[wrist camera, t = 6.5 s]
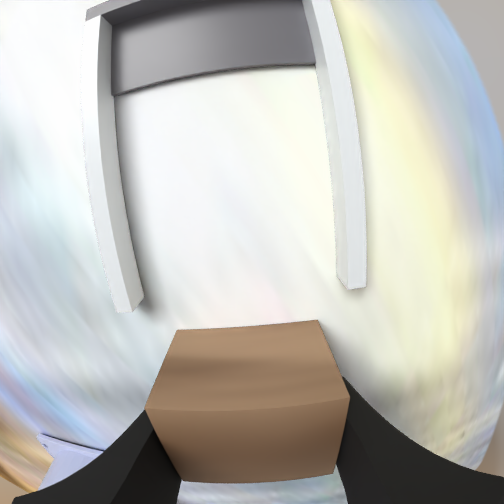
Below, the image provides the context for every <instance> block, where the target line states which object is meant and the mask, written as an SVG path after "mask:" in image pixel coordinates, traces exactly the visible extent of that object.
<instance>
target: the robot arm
mask: <svg viewBox="0 0 504 504" xmlns="http://www.w3.org/2000/svg"><path fill="white" fill-rule="evenodd" d="M342 379H343V381H344V384H345V386H346V388H347V391H348V393H349V396H350V401H349V406H348V411H347V417H346V422H345V426H344V431H343V436H342V440H341V444H340V449H339V453H338V457H337V461H336V465H337V468H338V471H339V474H340V477H341V480H342V483H343V486H344V489H345V493H346V496H347V501H348V504H504V477H501V476H496V475H491V474H486V473H482V472H478V471H475V470H472V469H469V468H466V467H463V466H460V465H458V464H456V463H453V462H451V461H449V460H447V459H445V458H442V457H440V456H438V455H436V454H434V453H432V452H431V451H429V450H427V449H425V448H424V447H422V446H420V445H419V444H417V443H416V442H414V441H413V440H411V439H410V438H408V437H407V436H406V435H404V434H403V433H401V432H400V431H399V430H398V429H396V428H395V427H394V426H393V425H391V424H390V423H389V422H388V421H387V420H385V419H384V418H383V417H382V416H381V415H380V414H379V413H378V412H377V411H376V410H375V409H373V408H372V407H371V406H370V405H369V404H368V403H367V402H366V401H365V400H364V399H363V398H362V397H361V395H360V394H359V393H358V392H357V391H356V390H355V389H354V388H353V387H352V386H351V384H350V383H349V382H348V381H347V380H346V379H345V378H344V377H342ZM37 439H38V441H39V442H40V443H41V444H42V445H43V447H44V448H45V449H46V450H47V451H48V453H49V454H50V455H51V456H52V457H53V458H54V460H53V462H52V464H51V466H50V468H49V470H48V471H47V473H46V475H45V477H44V479H43V481H42V483H41V485H40V487H39V489H38V491H36V492H32V493H29V494H26V495H23V496H19V497H15V498H14V500H13V502H12V504H176V503H177V497H178V493H179V489H180V484H181V480H182V479H181V477H180V475H179V474H178V472H177V470H176V469H175V467H174V465H173V463H172V462H171V460H170V458H169V456H168V454H167V453H166V451H165V449H164V447H163V445H162V443H161V441H160V439H159V437H158V436H157V434H156V432H155V430H154V427H153V425H152V423H151V421H150V419H149V417H148V415H147V413H146V411H145V410H144V411H143V412H142V413H141V414H140V415H139V417H138V418H137V419H136V420H135V421H134V422H133V423H132V424H131V425H130V426H129V428H128V429H127V430H126V431H125V432H124V433H123V434H122V435H121V436H120V437H119V438H118V439H117V440H116V441H115V442H114V443H113V444H112V445H111V446H109V447H108V448H107V449H106V450H105V451H99V450H95V449H90V448H86V447H82V446H78V445H75V444H71V443H68V442H64V441H61V440H58V439H55V438H51V437H48V436H45V435H43V434H38V436H37Z"/></svg>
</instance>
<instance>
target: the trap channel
mask: <svg viewBox="0 0 504 504" xmlns="http://www.w3.org/2000/svg"><path fill="white" fill-rule="evenodd" d="M280 65H315V67H316V72H317V78H318V83H319V89H320V95H321V101H322V108H323V114H324V121H325V129H326V136H327V144H328V153H329V162H330V171H331V182H332V193H333V206H334V221H335V240H336V267H337V277H338V278H339V279H340V281H341V282H342V283H343V284H344V286H345V287H346V288H347V289H348V290H350V289H356V288H362V287H366V270H367V246H366V212H365V194H364V180H363V169H362V158H361V149H360V141H359V133H358V125H357V118H356V112H355V105H354V99H353V94H352V88H351V83H350V78H349V73H348V68H347V63H346V59H345V54H344V50H343V46H342V42H341V38H340V34H339V30H338V26H337V23H336V19H335V15H334V12H333V9H332V5H331V2H330V0H109V1H106V2H104V3H101V4H99V5H97V6H94V7H92V8H90V9H88V10H87V14H86V21H85V30H84V40H83V53H82V73H81V113H82V134H83V147H84V158H85V168H86V176H87V184H88V191H89V198H90V204H91V210H92V216H93V221H94V226H95V231H96V236H97V241H98V246H99V250H100V254H101V259H102V263H103V267H104V271H105V275H106V278H107V282H108V286H109V289H110V293H111V296H112V300H113V303H114V306H115V310H116V313H128V312H133V311H134V310H135V308H136V307H137V306H138V305H139V303H140V302H141V301H142V299H143V298H144V293H143V289H142V285H141V281H140V277H139V273H138V268H137V264H136V260H135V255H134V250H133V246H132V241H131V236H130V231H129V225H128V220H127V214H126V208H125V202H124V196H123V189H122V182H121V175H120V167H119V158H118V149H117V138H116V126H115V110H114V96H117V95H120V94H123V93H127V92H130V91H133V90H137V89H140V88H144V87H148V86H151V85H155V84H159V83H163V82H167V81H172V80H176V79H181V78H186V77H191V76H196V75H202V74H207V73H214V72H220V71H227V70H235V69H243V68H253V67H265V66H280Z"/></svg>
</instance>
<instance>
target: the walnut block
mask: <svg viewBox="0 0 504 504" xmlns="http://www.w3.org/2000/svg"><path fill="white" fill-rule="evenodd" d="M349 401H350V396H349V393H348V391H347V388H346V386H345V384H344V381H343V379H342V376H341V374H340V371H339V369H338V367H337V364H336V362H335V360H334V357H333V355H332V352H331V350H330V348H329V345H328V343H327V341H326V338H325V336H324V334H323V331H322V329H321V327H320V325H319V322H318V320H311V321H302V322H293V323H283V324H272V325H261V326H248V327H233V328H216V329H193V330H177V331H176V333H175V336H174V338H173V340H172V343H171V345H170V347H169V350H168V352H167V354H166V357H165V359H164V361H163V364H162V366H161V368H160V371H159V373H158V376H157V378H156V380H155V383H154V385H153V388H152V390H151V393H150V395H149V398H148V400H147V403H146V405H145V411H146V413H147V415H148V417H149V419H150V421H151V423H152V425H153V427H154V430H155V432H156V434H157V436H158V437H159V439H160V441H161V443H162V445H163V447H164V449H165V451H166V453H167V454H168V456H169V458H170V460H171V462H172V463H173V465H174V467H175V469H176V470H177V472H178V474H179V475H180V477H181V479H182V480H183V481H188V482H202V483H261V482H276V481H286V480H295V479H303V478H310V477H317V476H323V475H328V474H333V472H334V468H335V464H336V461H337V457H338V453H339V449H340V444H341V440H342V436H343V431H344V426H345V422H346V417H347V411H348V406H349Z"/></svg>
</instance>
